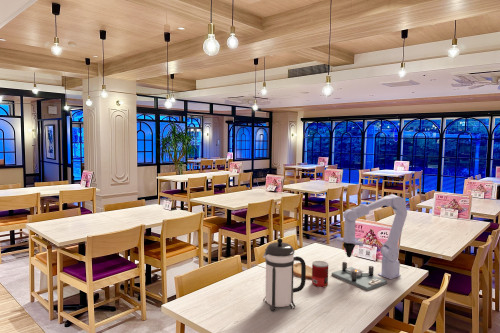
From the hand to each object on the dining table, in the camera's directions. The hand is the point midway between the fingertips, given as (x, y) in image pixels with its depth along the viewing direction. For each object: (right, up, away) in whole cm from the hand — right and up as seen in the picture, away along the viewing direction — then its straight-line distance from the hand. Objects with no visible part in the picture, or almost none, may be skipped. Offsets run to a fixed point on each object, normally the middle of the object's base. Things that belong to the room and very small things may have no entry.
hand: (349, 256), depth 187 cm
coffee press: (-40, -13, -33) cm, 54 cm away
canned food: (-18, -11, -12) cm, 24 cm away
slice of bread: (-24, -11, +4) cm, 26 cm away
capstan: (+2, -9, -6) cm, 11 cm away
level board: (+4, -11, -5) cm, 12 cm away
